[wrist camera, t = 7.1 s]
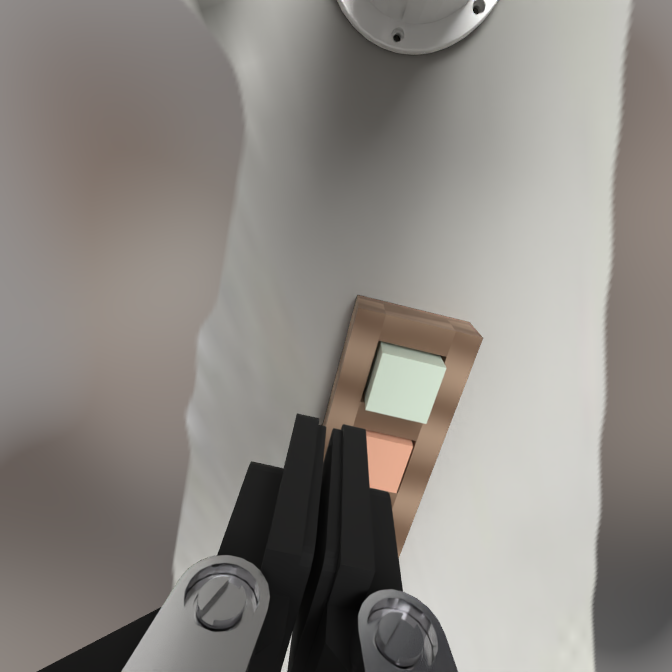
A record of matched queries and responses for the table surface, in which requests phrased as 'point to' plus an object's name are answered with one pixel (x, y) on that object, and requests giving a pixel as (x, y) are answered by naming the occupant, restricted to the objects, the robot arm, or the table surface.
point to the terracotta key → (386, 460)
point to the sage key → (403, 382)
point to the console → (349, 408)
